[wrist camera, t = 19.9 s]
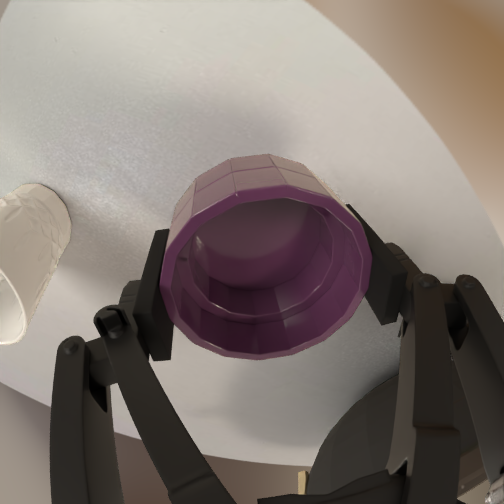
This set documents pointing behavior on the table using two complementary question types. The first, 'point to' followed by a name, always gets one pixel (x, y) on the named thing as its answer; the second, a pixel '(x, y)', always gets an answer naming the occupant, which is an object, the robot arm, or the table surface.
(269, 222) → the plum dish
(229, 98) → the table surface
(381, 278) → the robot arm
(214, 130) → the table surface
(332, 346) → the table surface
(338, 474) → the bowl
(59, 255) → the white cup
